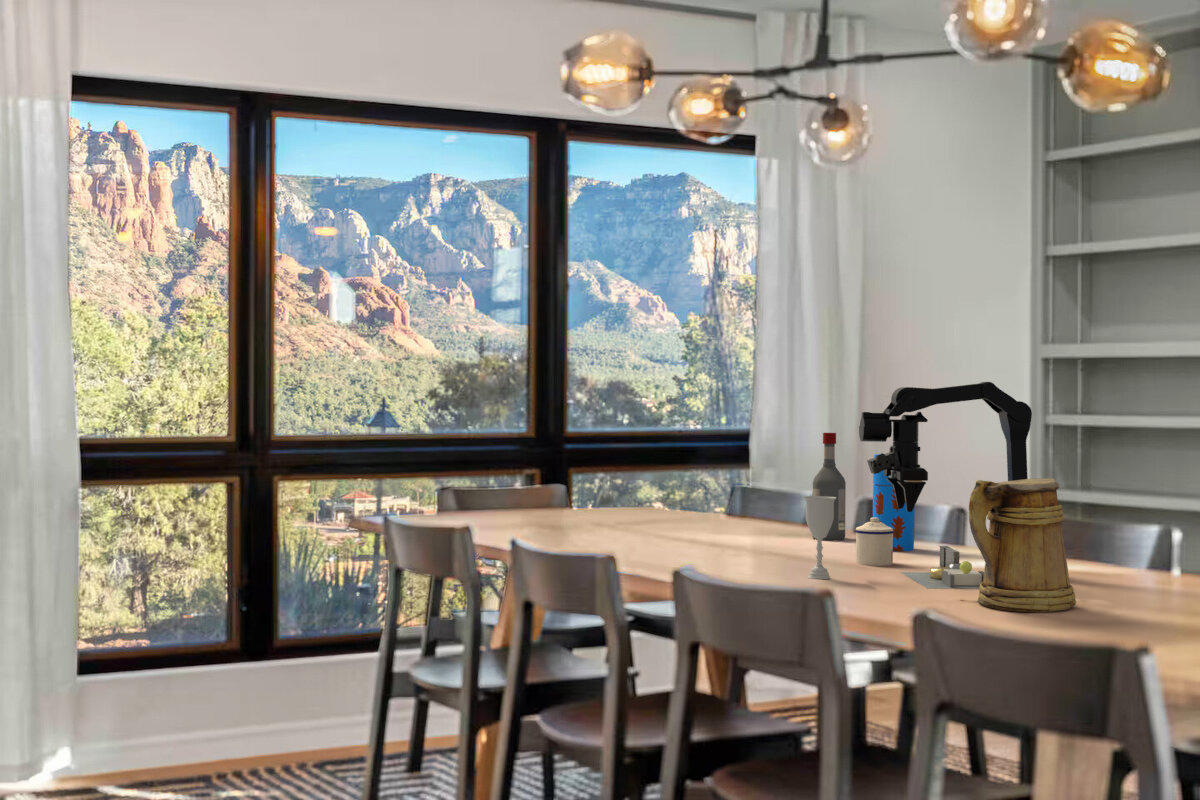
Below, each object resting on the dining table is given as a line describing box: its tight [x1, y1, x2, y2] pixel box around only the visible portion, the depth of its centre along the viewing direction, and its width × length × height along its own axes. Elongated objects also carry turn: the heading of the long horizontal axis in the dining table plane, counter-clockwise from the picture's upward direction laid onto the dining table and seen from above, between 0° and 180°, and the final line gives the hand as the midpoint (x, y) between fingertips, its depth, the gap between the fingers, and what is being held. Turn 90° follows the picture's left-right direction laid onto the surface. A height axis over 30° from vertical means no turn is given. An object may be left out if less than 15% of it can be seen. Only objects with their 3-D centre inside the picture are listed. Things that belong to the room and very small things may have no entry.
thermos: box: [872, 453, 916, 552], centre depth 373 cm, size 11×11×25 cm
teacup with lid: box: [854, 517, 894, 567], centre depth 337 cm, size 12×9×12 cm
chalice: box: [803, 495, 836, 580], centre depth 315 cm, size 7×7×18 cm
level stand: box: [899, 570, 984, 590], centre depth 306 cm, size 22×26×4 cm
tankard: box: [968, 478, 1077, 613], centre depth 274 cm, size 18×24×25 cm
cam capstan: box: [929, 545, 962, 580], centre depth 315 cm, size 9×18×5 cm, turn 0°
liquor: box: [812, 432, 847, 541], centre depth 398 cm, size 9×9×30 cm
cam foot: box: [944, 560, 982, 586], centre depth 301 cm, size 6×8×5 cm
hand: (904, 510), depth 322 cm, fingers open, 9 cm apart
